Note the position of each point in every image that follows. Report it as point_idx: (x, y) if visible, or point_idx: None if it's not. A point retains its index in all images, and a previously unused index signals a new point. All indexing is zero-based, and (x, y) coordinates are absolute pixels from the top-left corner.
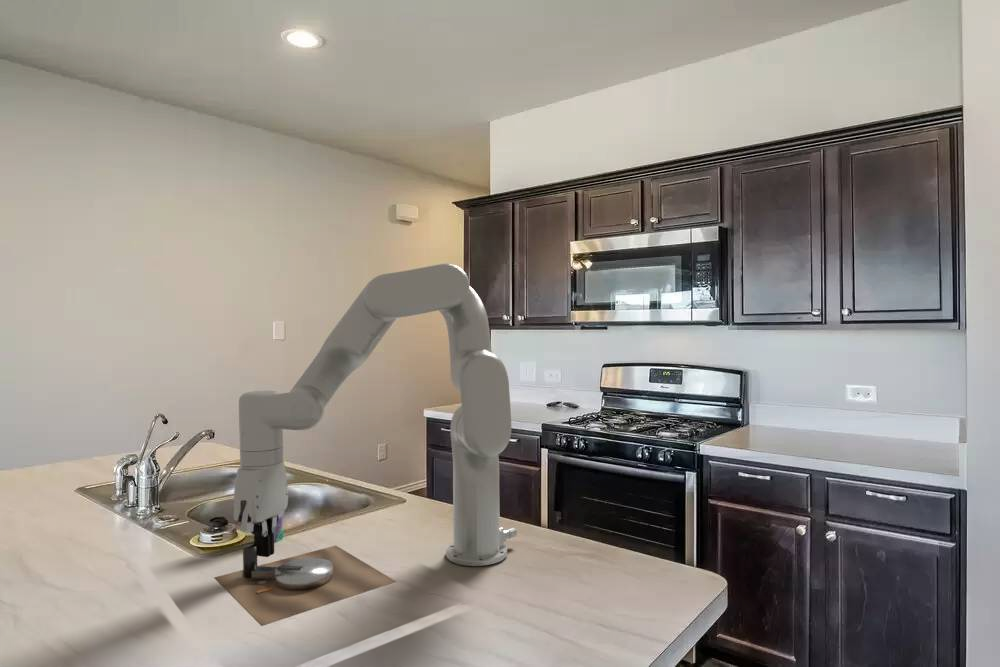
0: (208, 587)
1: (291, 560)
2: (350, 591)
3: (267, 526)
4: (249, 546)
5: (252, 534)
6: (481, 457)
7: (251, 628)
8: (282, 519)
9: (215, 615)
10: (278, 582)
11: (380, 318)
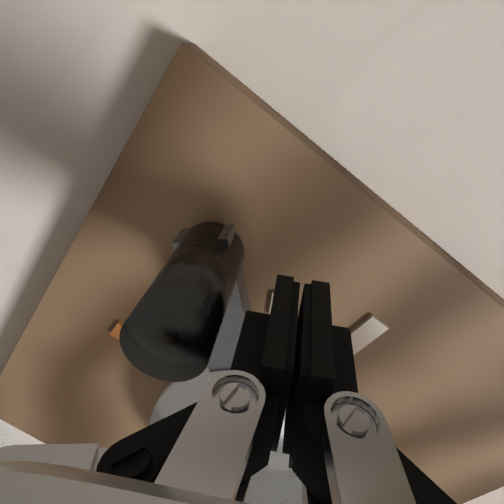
0: (170, 24)
1: (446, 318)
2: None
3: (320, 485)
4: (156, 348)
5: (210, 386)
6: None
7: (9, 357)
8: None
9: (5, 231)
10: (163, 388)
11: None
